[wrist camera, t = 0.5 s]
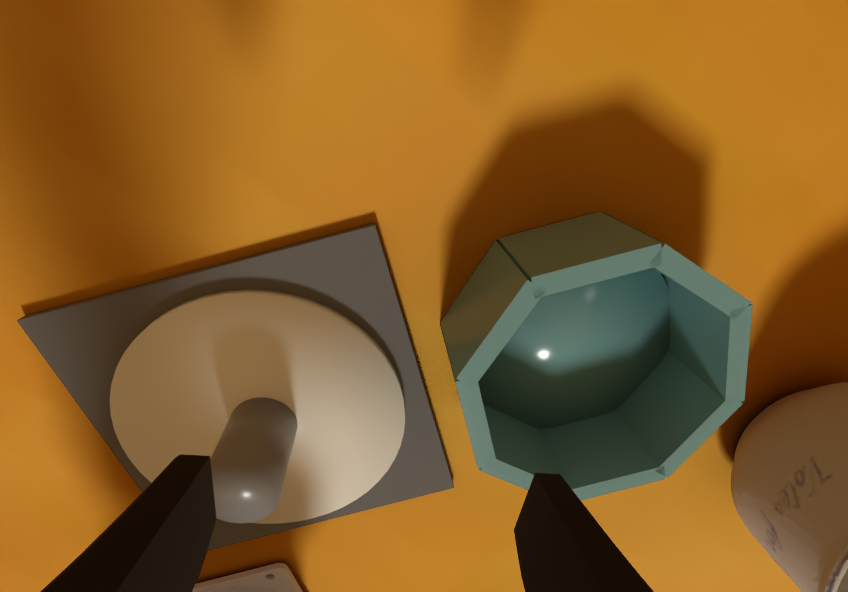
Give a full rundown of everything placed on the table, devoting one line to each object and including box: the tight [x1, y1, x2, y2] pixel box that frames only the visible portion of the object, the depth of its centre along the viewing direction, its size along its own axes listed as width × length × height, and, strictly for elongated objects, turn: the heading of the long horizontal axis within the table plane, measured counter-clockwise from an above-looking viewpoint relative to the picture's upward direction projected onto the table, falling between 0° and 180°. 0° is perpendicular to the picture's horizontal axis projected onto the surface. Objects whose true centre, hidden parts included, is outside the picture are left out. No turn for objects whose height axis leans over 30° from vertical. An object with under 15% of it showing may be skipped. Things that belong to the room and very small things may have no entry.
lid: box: [110, 290, 405, 524], centre depth 19 cm, size 13×13×5 cm
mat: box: [17, 223, 454, 550], centre depth 21 cm, size 15×15×1 cm
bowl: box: [440, 212, 753, 500], centre depth 19 cm, size 11×11×4 cm
